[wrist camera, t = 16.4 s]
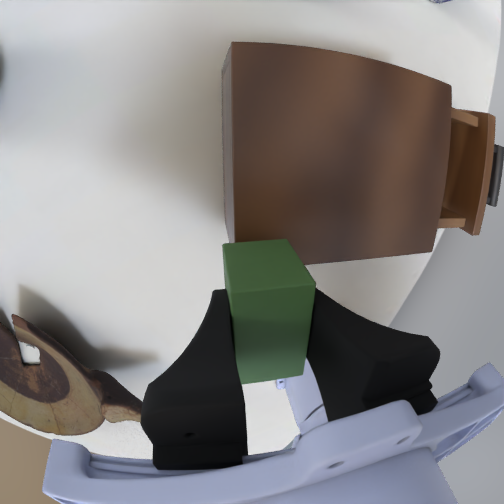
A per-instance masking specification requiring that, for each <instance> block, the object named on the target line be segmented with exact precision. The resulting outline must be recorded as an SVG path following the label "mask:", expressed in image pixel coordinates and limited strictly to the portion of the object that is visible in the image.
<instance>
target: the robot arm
mask: <svg viewBox="0 0 504 504" xmlns="http://www.w3.org/2000/svg"><path fill="white" fill-rule="evenodd" d="M439 359H440V351H439V349H438V348H437V346H436V345H435V344H434V343H433V342H432V340H431V339H430V338H429V337H428V336H422V335H416V334H410V333H406V332H402V331H398V330H395V329H392V328H388V327H386V326H383V325H380V324H377V323H375V322H372V321H370V320H368V319H366V318H364V317H362V316H360V315H358V314H356V313H354V312H352V311H350V310H349V309H347V308H345V307H343V306H342V305H340V304H339V303H337V302H336V301H334V300H333V299H331V298H330V297H328V296H327V295H325V294H324V293H323V292H321V291H320V290H318V289H317V288H315V296H314V304H313V312H312V320H311V327H310V334H309V341H308V347H307V354H306V360H305V366H304V372H303V375H301V376H295V377H289V378H283V379H277V381H276V387H277V389H284V388H285V389H286V392H287V395H288V398H289V401H290V405H291V408H292V411H293V414H294V417H295V420H296V423H297V425H298V427H299V429H300V432H301V434H300V435H297V436H296V437H295V438H294V441H293V444H292V447H291V448H290V449H286V450H280V451H274V452H268V453H262V454H255V455H248V447H247V428H246V413H245V400H244V395H243V389H242V385H241V381H240V377H239V373H238V368H237V363H236V359H235V354H234V348H233V341H232V328H231V315H230V304H229V298H228V293H227V289H221V290H214V291H213V292H212V298H211V301H210V305H209V307H208V310H207V312H206V315H205V317H204V319H203V321H202V323H201V325H200V327H199V329H198V331H197V333H196V334H195V336H194V338H193V339H192V341H191V342H190V344H189V345H188V346H187V348H186V349H185V350H184V352H183V353H182V354H181V355H180V357H179V358H178V359H177V360H176V361H175V362H174V363H173V364H172V365H171V366H170V367H169V368H168V369H167V370H166V371H165V372H164V373H163V374H161V375H160V376H159V377H158V378H156V379H155V380H154V381H153V382H151V383H150V384H149V385H148V387H147V390H146V393H145V396H144V400H143V403H142V409H141V420H140V423H141V426H142V429H143V430H144V432H145V433H146V435H147V436H148V438H149V439H150V441H151V442H152V444H153V460H150V459H133V458H121V457H112V456H103V455H96V454H91V453H90V452H89V451H88V449H87V448H85V447H84V446H83V445H80V444H78V443H74V442H69V441H64V440H59V439H53V440H52V444H51V448H50V452H49V457H48V461H47V466H46V471H45V477H44V482H43V488H42V491H43V492H44V493H45V494H46V495H48V496H50V497H51V498H53V499H55V500H56V501H58V502H60V503H62V504H458V502H457V500H456V498H455V496H454V494H453V492H452V490H451V488H450V486H449V485H448V483H447V481H446V479H445V477H444V475H443V473H442V472H441V469H440V468H439V466H438V464H437V463H438V462H439V461H441V460H442V459H444V458H445V457H447V456H448V455H450V454H451V453H452V452H454V451H455V450H457V449H458V448H460V447H461V446H462V445H464V444H465V443H467V442H468V441H469V440H471V439H472V438H473V437H475V436H476V435H477V434H479V433H480V432H481V431H482V430H484V429H485V428H486V427H488V426H489V425H490V424H491V423H492V422H493V421H494V420H495V418H496V417H497V416H498V415H499V414H500V413H501V412H502V411H503V409H504V378H503V377H502V376H501V375H500V374H499V372H498V371H497V370H496V369H495V368H494V367H493V365H492V364H491V363H487V364H485V365H484V366H482V367H481V368H479V369H477V370H476V371H475V372H474V373H473V374H472V376H471V377H470V379H469V380H468V383H466V384H464V385H463V386H461V387H459V388H457V389H455V390H454V391H452V392H450V393H448V394H446V395H444V396H442V397H440V398H438V399H436V398H435V397H434V395H433V393H432V392H431V390H430V389H431V388H432V384H431V383H430V381H429V379H430V377H431V375H432V373H433V372H434V370H435V368H436V366H437V364H438V362H439Z"/></svg>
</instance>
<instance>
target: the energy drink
mask: <svg viewBox="0 0 504 504" xmlns="http://www.w3.org/2000/svg"><path fill="white" fill-rule="evenodd" d="M431 1H433V2H435V3H444V2H447V1H451V0H431Z"/></svg>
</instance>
